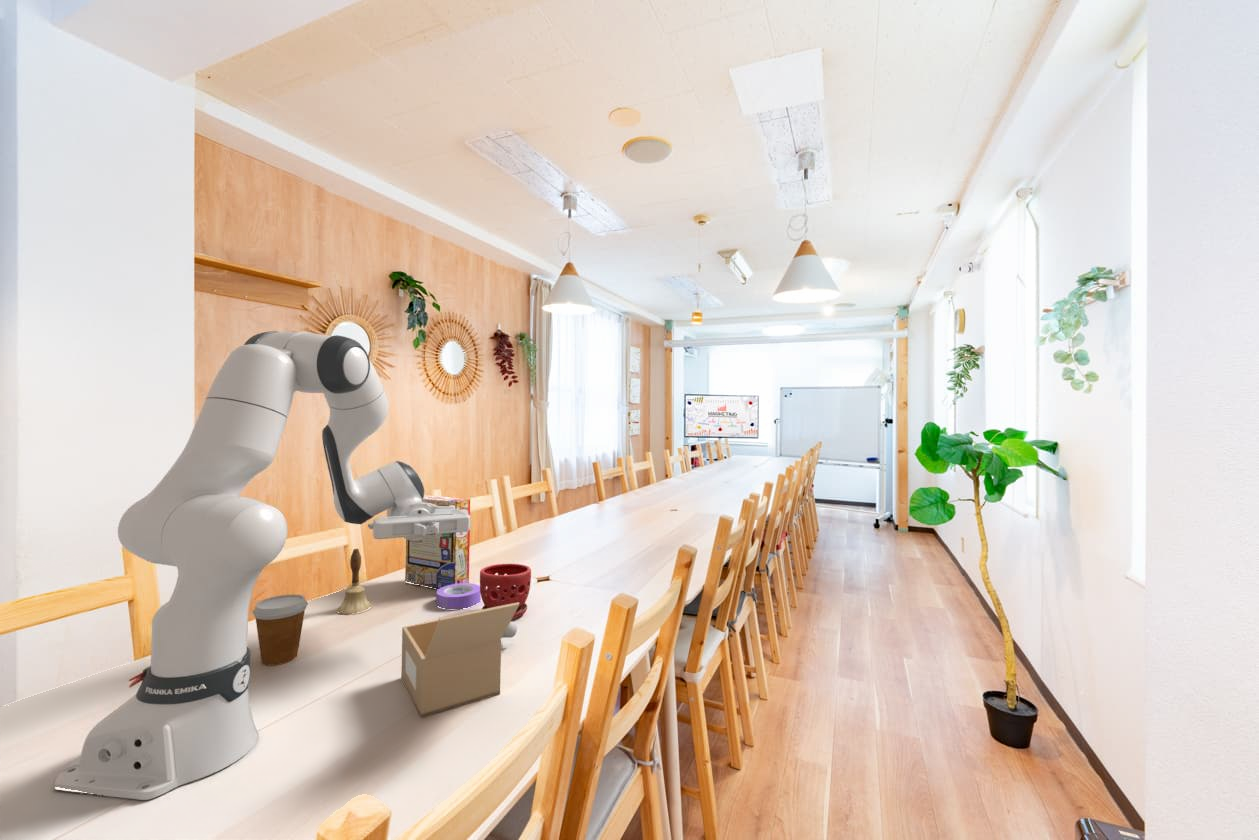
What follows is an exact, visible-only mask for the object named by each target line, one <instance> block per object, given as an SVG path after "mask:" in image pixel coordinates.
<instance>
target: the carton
mask: <svg viewBox="0 0 1259 840" xmlns="http://www.w3.org/2000/svg"><path fill="white" fill-rule="evenodd" d="M438 621H439V619H437V620H431V621H427V622H425V621H424V622H422V623H421V622H420V623H416V624H411V625H407V626H402V629H401V633H402V634H401V638H402V639H401V675H400V676H401V677H400V678H401V681H402V682H403V684H404V686H405V688H406V690H407V693H408V695H409V697H410V698H411V701H412V703H413V705H414V707H415V709H416V711H417V713H418V715H419V717H420V719H423V718H426V717H429V716H433V715H436V714H439V713H442V712H445V711H449V710H452V709H455V708H458V707H462V706H466V705H467V704H472V703H475V702H478V701H481V700H485V699H488V698H491V697H494V696H497V695H498V696H499V695H500V694H501V670H502V669H501V666H502V664H501V663H502V661H501V660H502V647H501V643H502V639H501V640H500V642H496V643H492V644H488V645H484V646H480V647H476V648H472V649H468V650H464V651H460V652H455V653H451V654H447V655H443V656H439V657H435V658H431V659H427V660H425V655H426V653H427V650H428V648H429V645H430V642H431V640H432V637H433V634H434V632H435V629H436V627H437V624H438Z"/></svg>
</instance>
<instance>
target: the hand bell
mask: <svg viewBox="0 0 1259 840" xmlns="http://www.w3.org/2000/svg"><path fill="white" fill-rule="evenodd" d="M351 553H352V554H351V555H350V556H351V557H350V559H349V560H350V563H349V564H350V569H351V574H352V576H351V586H350V587H347V588H346V589H345V592H344V594H345V595H344V597H343V601H342V603H341V604H340V605H339V606H338V607H337V609H336V613H337V612H339V613H341V614H340V615H343V614H352V613H357V612H361V611H364V610H366V609H368V608H369V607H371V605H372V603H371V602H369V601H368V598H367V596H366V592H365V591H366V589H365V587H364V586H362V585H360V569H361V565H362V556H361V553H360V549H359V548H354V549H352V552H351ZM339 613H338V614H339ZM352 615H353V614H352Z"/></svg>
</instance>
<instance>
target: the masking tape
mask: <svg viewBox="0 0 1259 840" xmlns="http://www.w3.org/2000/svg"><path fill="white" fill-rule="evenodd" d="M435 598H436V600H435V601H436V602H435V603H436V604H437V605H436V607H437V606H439V607H441V608H445V609H462V610H464V609H463V608H467V609H469V608H468V607H471V606H473V605H476V604H477V603H479V602H480V603H481V601H480V600H482V598H481V593H480V584H479V585H478V584H475V583H470V582H469V583H458V584H452V585H447V586H444V587H442V588H440V589H438V590H437V589H436V596H435ZM480 603H479V604H480ZM476 606H477V605H476ZM471 608H472V607H471Z"/></svg>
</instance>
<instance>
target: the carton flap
mask: <svg viewBox="0 0 1259 840" xmlns="http://www.w3.org/2000/svg"><path fill="white" fill-rule="evenodd" d="M518 606H519V602H517V603H512V604H507V605H502V606H497V607H493V608H488V609H483V610H482V609H479V610H478V609H477V610H473V611H468V612H464V613H459V614H453V615H449V616H445V617H444V616H443V617H439V619H438V620H439V621H438V624H437V627H436V629H435V632H434V634H433V637H432V640H431V642H430V645H429V648H428V650H427V653H426V655H425V660H427V659H431V658H435V657H439V656H443V655H447V654H451V653H455V652H460V651H464V650H468V649H472V648H476V647H480V646H484V645H488V644H492V643H496V642H500V640H501V641H502V636H503V635H504V633H505V631H506V629H507V627H508V625H509V623H510V622H512V620H513V619H512V618H513V616H514V614H515V612H516V610H517V608H518Z"/></svg>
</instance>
